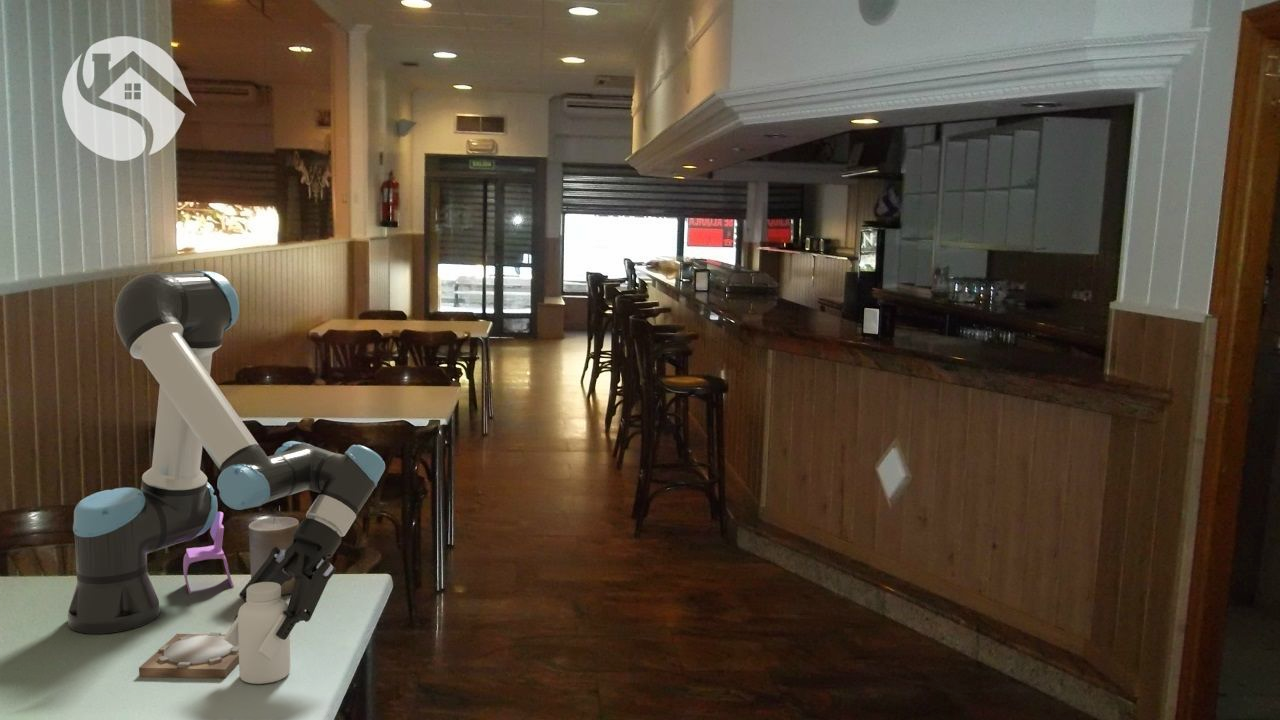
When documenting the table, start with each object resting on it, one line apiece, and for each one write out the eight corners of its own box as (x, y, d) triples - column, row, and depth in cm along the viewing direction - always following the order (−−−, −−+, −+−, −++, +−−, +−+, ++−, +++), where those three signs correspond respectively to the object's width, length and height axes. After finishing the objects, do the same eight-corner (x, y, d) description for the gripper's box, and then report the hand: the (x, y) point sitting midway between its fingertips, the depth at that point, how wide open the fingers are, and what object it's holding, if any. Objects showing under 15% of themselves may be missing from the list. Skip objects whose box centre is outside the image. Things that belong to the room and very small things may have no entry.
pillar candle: (310, 582, 214) (308, 511, 212) (286, 599, 205) (283, 524, 203) (266, 579, 216) (263, 509, 214) (241, 596, 206) (237, 522, 204)
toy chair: (183, 582, 213) (180, 511, 211) (229, 576, 217) (226, 506, 215) (187, 596, 206) (184, 522, 204) (234, 589, 210) (232, 516, 208)
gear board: (139, 676, 170) (138, 664, 169) (177, 641, 184) (176, 630, 183) (225, 678, 170) (225, 666, 169) (256, 643, 184) (256, 632, 183)
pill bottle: (301, 672, 172) (299, 584, 170) (260, 690, 166) (257, 599, 164) (270, 660, 177) (267, 575, 175) (228, 677, 170) (225, 589, 168)
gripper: (378, 549, 176) (304, 674, 165) (296, 528, 187) (220, 644, 176) (354, 526, 171) (275, 654, 160) (270, 506, 182) (191, 624, 170)
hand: (247, 649), depth 168 cm, fingers closed on pill bottle, 8 cm apart
